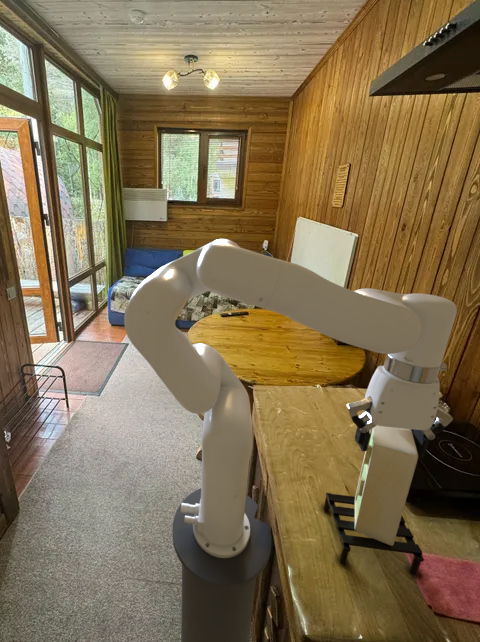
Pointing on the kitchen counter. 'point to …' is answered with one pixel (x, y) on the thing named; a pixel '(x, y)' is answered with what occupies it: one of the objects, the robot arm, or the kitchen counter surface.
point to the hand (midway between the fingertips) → (388, 448)
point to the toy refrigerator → (384, 482)
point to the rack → (368, 542)
